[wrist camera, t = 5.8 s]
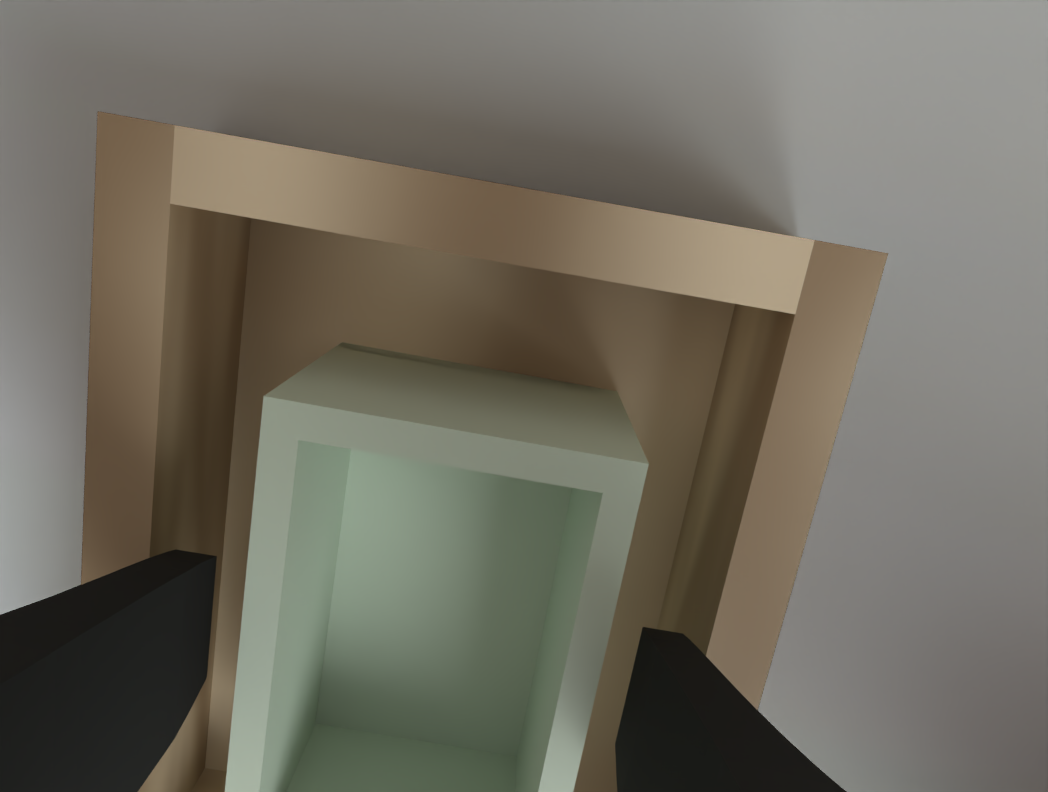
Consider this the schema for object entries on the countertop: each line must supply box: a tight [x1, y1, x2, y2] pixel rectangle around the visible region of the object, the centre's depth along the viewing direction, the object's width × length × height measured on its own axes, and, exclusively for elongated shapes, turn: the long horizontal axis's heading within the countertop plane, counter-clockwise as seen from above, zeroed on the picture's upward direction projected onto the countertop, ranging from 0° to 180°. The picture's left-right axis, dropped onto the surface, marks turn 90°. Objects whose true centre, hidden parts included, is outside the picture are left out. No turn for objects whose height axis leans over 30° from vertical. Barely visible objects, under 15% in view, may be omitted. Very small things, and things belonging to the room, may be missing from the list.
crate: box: [81, 111, 888, 792], centre depth 13 cm, size 10×14×4 cm
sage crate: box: [225, 342, 649, 792], centre depth 13 cm, size 5×8×4 cm, turn 170°
